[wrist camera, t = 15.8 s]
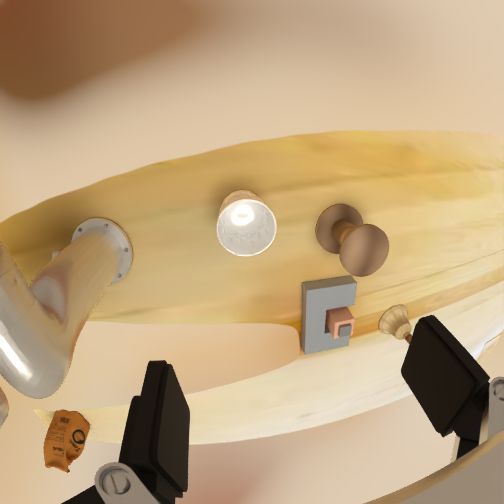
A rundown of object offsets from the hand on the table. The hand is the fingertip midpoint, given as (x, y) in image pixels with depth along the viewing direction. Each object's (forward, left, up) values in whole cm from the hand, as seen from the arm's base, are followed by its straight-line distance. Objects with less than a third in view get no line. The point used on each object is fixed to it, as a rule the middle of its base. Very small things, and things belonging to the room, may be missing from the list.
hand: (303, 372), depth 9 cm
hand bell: (+33, -33, -39) cm, 61 cm away
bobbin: (+17, -9, -38) cm, 43 cm away
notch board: (+15, -27, -38) cm, 49 cm away
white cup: (0, -4, -38) cm, 39 cm away
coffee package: (-62, -63, -38) cm, 96 cm away
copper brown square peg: (+17, -27, -38) cm, 50 cm away
